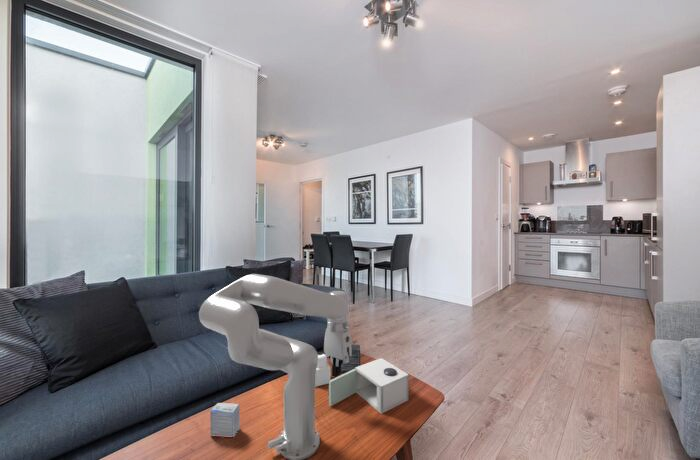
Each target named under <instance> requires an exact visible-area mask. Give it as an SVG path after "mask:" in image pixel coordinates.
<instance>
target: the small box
mask: <svg viewBox="0 0 700 460" xmlns="http://www.w3.org/2000/svg"><path fill="white" fill-rule="evenodd" d="M351 348H352V353H351V356H350V357H349V363H347V364H345V363H343V364H342V365H341V374H342V373H343V374H345V373H347V372H349V371H351V370H353V369H355V367H358V366H361V345H360V344H351Z"/></svg>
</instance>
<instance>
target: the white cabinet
mask: <svg viewBox="0 0 700 460" xmlns="http://www.w3.org/2000/svg"><path fill="white" fill-rule="evenodd" d="M355 369H356V393H355V394H357V395H358V396H360V397H361V398H362V399H363V400H364V401H366V402H367V403H368V404H369V405H370V406H371V407H372V408H374V409H375V410H376V411H378V413H380V414H384V413H386V412H387V411H389V410H391V409H394V408H396V407H398V406H399V405H401V404H403V403H406V402H407V401H409V396H410V395H409V388H410V387H409V385H410V384H409V381H410V379H409V378H410V377H409V373H407V372H406V371H404V370H402V369H400V368H398V367H397V366H396V365H393V364H392V363H390V362H388V361H387V360H385V359H384V358H382V357H380V358H377V359H375V360H372V361H370V362H367V363H364V364H360V366H358V367H355Z"/></svg>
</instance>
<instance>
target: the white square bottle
mask: <svg viewBox="0 0 700 460" xmlns="http://www.w3.org/2000/svg"><path fill="white" fill-rule="evenodd" d="M317 354H318V363H317V368H316V374H315V388H317V387H319V386H324V385H327V384H328V385H329V381H330V380H332V378H331V377H332V366H331V365H329V363H328V357H327V356H326V355H325V352H324V351H317Z"/></svg>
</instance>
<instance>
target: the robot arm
mask: <svg viewBox="0 0 700 460" xmlns="http://www.w3.org/2000/svg"><path fill="white" fill-rule="evenodd" d="M253 305H255V306H258V307H263V308H266V309H270V310H277V311H282V312H287V313H291V314H295V315H297V314H298V315H301V316H309V317H317V318H324V319H326V320H327V324H326V325H327V326H326V328H325V333H324V342H323V352H325V355H326V356H327V359H329V362H330V366H331V377H334V378H336V377H338V376H340V375H342V373H341V365H342V364H343V363H345V364H347V363H349V357H350V356H351V353H352V348H351V345H352V336H351V331H350V325H349V322H348V321H349V294H348V292H346V291H344V290H333V291H330V292H325V291H322V290H318V289H315V288H312V287H309V286H306V285H303V284H298V283H295V282H292V281H289V280H286V279H283V278H280V277H277V276H276V277H275V276H272V275H267V274H266V275H265V274H258V273H251V274H247V275H245V276H242V277H240V278H239V279H237V280H235V281H233V282H232V283H230V284H229V285H227V286H225V287H223V288H222V289H220V290H219V291H217V292H215V293H213V294H212V295H210V296H209V297H208V298H206V299H205V300H204V301H203V302H202V304H201V305H200V308H199V311H198V319H199V322H200V323H201V325H202V326H203V327H205V328H207V329H209V330H211V331H213V332H217V333H219V334H221V335H223V336H225V337H226V339H227V350H228V355H229V358H230V359H231V360H232V361H233V362H236V363H238V364H242V365H246V366H250V367H255V368H261V369H263V370H267V371H282V372H283V373H287V374H288V379H287V380H286V382H285V384H284V386H283V429H282V430H280V435H278V436H277V438H274V439H272V440H269V441H268V442H267V447H268V450H271V449H274V452H275V453H278V452H279V453H280V455H281V456H282V457H283V458H284V459H287V460H305V459H307V458H310V457H311V456H312V455H314V454H315V453H316V452H317V450H319V446H320V444H321V441H320V440H321V437H320V434H319V432H318V431H317V429H316V426H315V425H316V415H315V414H316V411H315V410H316V406H315V405H316V399H315V398H316V396H315V395H316V392H315V391H316V387H315V374H316V368H317V363H318V354H317V352H318V351H317V350H316V348H315V347H314V346H312V345H311V344H308V343H307V342H303V341H301V340H298V339H294V338H291V337H289V336H284V335H280V334H278V333H275V332H272V331H269V330H266V329H263V328H260V325H259V324H260V323H259V322H260V320H259V315H258V312H257V311H256V308H254V306H253Z"/></svg>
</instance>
